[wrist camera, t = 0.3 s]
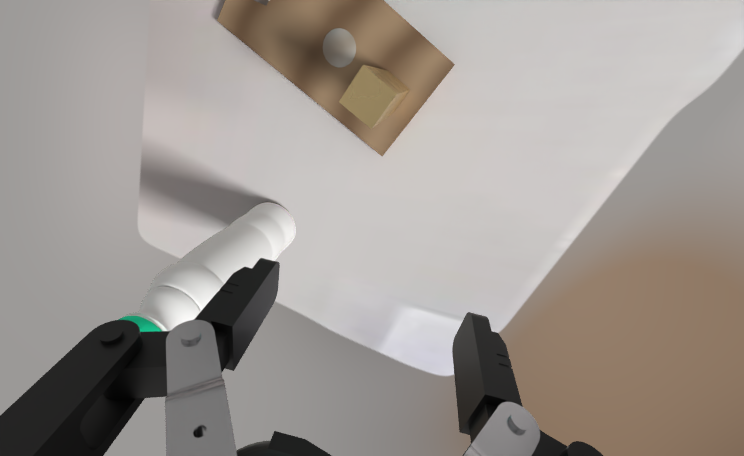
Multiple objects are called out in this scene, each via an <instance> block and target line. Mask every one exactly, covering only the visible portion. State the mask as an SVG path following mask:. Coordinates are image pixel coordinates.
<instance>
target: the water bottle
mask: <svg viewBox="0 0 744 456" xmlns="http://www.w3.org/2000/svg"><path fill="white" fill-rule="evenodd" d="M295 233H296V226H295V222H294V220H293V218H292V216H291V214H290V213H289V212H288V211H287V210H286V209H285V208H283V207H282V206H280V205H278V204H275V203H269V202H266V203H261V204H258V205H256V206H255V207H253V208H252V209H251V210H249V211H248V212H247V213H246V214H245V215H243V216H241V217H239V218H238V219H236V220H235V221H234V222H232V223H231V224H230V225H229V226H228V227H227V228H225V229H223V230H222V231H220V232H218V233H216V234H215V235H213V236H212V237H210V238H209V239H207V240H206V241H204V242H203V243H201V244H200V245H199V246H197V247H196V248H194V249H193V250H192V251H190V252H189V253H188V254H187V255H185V256H184V257H183V258H182V259H180V260H179V261H178V262H177V263H176V264H173V265H170V266H169V267H167V268H165V269H163V270H162V271H161V272H160V273H159V274H158V275H157V276H156V277H155V279H154V280H153V282H152V283H151V286H150V288H149V290H148V292H147V294H146V296H145V297H144V299H143V300H142V303H141V307H140V310H139V311H138V312H137V313H130V314H128V315H126V316H125V317H123V318H121V319H119V320H129V321H132V322H134V323H136V324H137V325H138V326H139V329H140V332H154V331H171V330H172V329H173V328H174V327H176V326H177V325H179V324H181V323H183V322H186V321H190V320H194V319H195V318H196V317H197V315H198V314H199V313H200V312H201V311H202V310H203V308H204V307H205V306H206V305H207V304H208V302H209V301H210V300H211V299H212V298H213V297H214V295H215V294H216V293H217V292H218V291H219V290H220V288H221V287H222V286H223V285H224V284H225V283H226V281H227V280H228V279H229V278H230V276H231V275H232V274H233V273H234V272H236V271H238V270H240V269H241V268H243V267H248V268H253V267H254V265H255V264H256V263H257V261H258V260H259V259H260V258H264V259H268V260H272V261H275V260H276V259H277V257H278V256H279V255H280V253H281V252H282V251H283V250H284V249H285V248H287V247H288V246H289V244H290V243H291V242H292V241H293V239H294V237H295Z"/></svg>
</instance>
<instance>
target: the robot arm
mask: <svg viewBox="0 0 744 456" xmlns="http://www.w3.org/2000/svg"><path fill="white" fill-rule="evenodd" d="M279 266H280V265H279V262H275V261H272V260H268V259H264V258H260V259H259V260H258V261H257V263H256V264H255V265H254V267H253V268H248V267H243V268H241V269H240V270H238V271H236V272H234V273H233V274H232V275H231V276H230V278H229V279H228V280H227V281H226V283H225V284H224V285H223V286H222V287H221V288H220V290H219V291H218V292H217V293H216V294H215V295H214V297H213V298H212V299H211V300H210V301H209V302H208V304H207V305H206V306H205V307H204V308H203V310H202V311H201V312H200V313H199V314H198V315H197V317H196V318H195V319H194V320H190V321H186V322H183V323H181V324H179V325H177V326H176V327H174V328H173V329H172V330H171V331H154V332H140V329H139V326H138V325H137V324H136V323H134V322H132V321H129V320H115V321H111V322H108V323H105V324H103V325H100V326H98V327H97V328H95V329H94V330H92V331H91V332H90V333H89V334H88V335H87V336H86V337H85V338H83V339H82V340H81V341H80V342H79V343H78V344H77V345H76V346H75V347H74V348H73V349H72V350H70V351H69V352H68V353H67V354H66V355H65V356H64V357H63V358H62V359H61V360H60V361H59V362H58V363H57V364H55V366H53V367H52V368H51V369H50V370H49V371H48V372H47V373H46V374H45V375H44V376H43V377H41V378H40V380H38V381H37V382H36V383H35V384H34V385H33V386H32V387H31V388H30V389H29V390H28V391H27V392H25V393H24V394H23V395H22V396H21V397H20V398H19V399H18V400H17V401H16V402H15V403H13V404H12V405H11V406H10V407H9V408H8V409H7V410H6V411H5V412H4V413H3V414H2V415H1V416H0V456H103V455H104V454H105V452H106V451H107V450H108V448H109V447H110V446H111V444H112V443H113V441H114V440H115V439H116V437H117V436H118V435H119V433H120V432H121V430H122V429H123V428H124V426H125V425H126V423H127V422H128V421H129V419H130V418H131V417H132V415H133V414H134V412H135V411H136V410H137V408H138V407H139V406H140V404H141V403H142V401H143V400H144V399H145V398H150V397H164V396H167V397H166V400H165V413H166V456H331V455H330V454H328V453H326V452H325V451H323V450H322V449H320V448H318V447H317V446H315V445H314V444H312V443H310V442H309V441H307V440H305V439H302V438H298V437H295V436H291V435H287V434H283V433H280V432H276V431H274V434H273V436H272V439H271V441H263V442H257V443H254V444H250V445H247V446H245V447H243V448H241V449H238V450H237V451H236V446H235V440H234V434H233V429H232V423H231V417H230V411H229V406H228V400H227V394H226V388H225V383H224V380H223V378H222V371H223V370H224V368H226V369H229V370H233V371H234V369H235V368H236V366H237V364H238V363H239V361H240V359H241V358H242V356H243V354H244V353H245V351H246V349H247V348H248V346H249V344H250V342H251V341H252V339H253V337H254V336H255V334H256V332H257V331H258V329H259V327H260V325H261V324H262V322H263V320H264V318H265V317H266V315H267V314H268V312H269V310H270V308H271V307H272V305H273V303H274V301H275V299H276V296H277V291H278V280H279ZM453 363H454V374H455V385H456V396H457V407H458V418H459V430H460V432H461V433H465V434H468V435H470V437H471V444H470V446H469V447H468V449H467V450H466V451H465V453H464V454H463V456H603V455H602V454H601V453H600V452H599V451H597V450H596V449H595V448H593V447H592V446H590V445H588V444H586V443H584V442H579V441H576V442H573V443H571V444H570V445H569V446H568V447H567V446H566V445H564V444H562V443H560V442H559V441H557V440H555V439H554V438H552V437H550V436H548V435H547V434H545V433H544V432H542V431H541V430H540V429H539V427H538V424H537V423H536V421H535V419H534V418H533V416H532V415H531V414H530V413H529V412H528V411H527V410H526V409H525V408H523V406H522V403H521V399H520V395H519V392H518V388H517V385H516V381H515V377H514V374H513V370H512V369H511V367H512V366H511V362H510V359H509V355H508V351H507V348H506V345H505V343H504V341H503V340H502V338H501V337H500V335H499V334H498V333H496V332H492V331H491V328H490V323H489V320H488V318H487V317H485V316H481V315H478V314H474V313H470V312H469V313H467V314H466V316H465V318H464V320H463V322H462V324H461V326H460V328H459V330H458V332H457V334H456V336H455V338H454V342H453Z"/></svg>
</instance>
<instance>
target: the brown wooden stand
mask: <svg viewBox="0 0 744 456" xmlns="http://www.w3.org/2000/svg"><path fill="white" fill-rule="evenodd" d="M217 21H218V22H219V23H221V24H222V25H223V26H224V27H225V28H227V29H228V30H229V31H230V32H231V33H233V34H234V35H235V36H236V37H238V38H239V39H240V40H241V41H242V42H244V43H245V44H246V45H247V46H249V47H250V48H251V49H252V50H253V51H255V52H256V53H257V54H258V55H259V56H261V57H262V58H263V59H264V60H266V61H267V62H268V63H269V64H270V65H272V66H273V67H274V68H275V69H277V70H278V71H279V72H280V73H281V74H283V75H284V76H285V77H286V78H287V79H289V80H290V81H291V82H292V83H294V84H295V85H296V86H297V87H298V88H300V89H301V90H302V91H303V92H304V93H306V94H307V95H308V96H309V97H311V98H312V99H313V100H314V101H315V102H317V103H318V104H319V105H320V106H322V107H323V108H324V109H325V110H326V111H328V112H329V113H330V114H331V115H332V116H334V117H335V118H336V119H337V120H339V121H340V122H341V123H342V124H343V125H345V126H346V127H347V128H348V129H349V130H351V131H352V132H353V133H354V134H356V135H357V136H358V137H359V138H360V139H362V140H363V141H364V142H365V143H367V144H368V145H369V146H370V147H371V148H373V149H374V150H375V151H376V152H377V153H379V154H380V155H381V156H383V155H384V153H385V152H386V151H387V150H388V148H389V147H390V146H391V145H392V143H393V142H394V141H395V140H396V138H397V137H398V136H399V134H400V133H401V132H402V131H403V129H404V128H405V127H406V126H407V124H408V123H409V122H410V121H411V119H412V118H413V117H414V115H415V114H416V113H417V112H418V110H419V109H420V108H421V107H422V105H423V104H424V103H425V102H426V100H427V99H428V98H429V97H430V95H431V94H432V93H433V91H434V90H435V89H436V88H437V86H438V85H439V84H440V83H441V81H442V80H443V79H444V78H445V76H446V75H447V74H448V72H449V71H450V70H451V69H452V67H453V66H454V65H455V64H454V63H452V62H451V61H450V60H449V59H448V58H447V57H446V56H445V55H444V54H442V53H441V52H440V51H439V50H438V49H437V48H436V47H435V46H434V45H432V44H431V43H430V42H429V41H428V40H427V39H426V38H425V37H424V36H422V35H421V34H420V33H419V32H418V31H417V30H416V29H415V28H414V27H412V26H411V25H410V24H409V23H408V22H407V21H406V20H405V19H404V18H402V17H401V16H400V15H399V14H398V13H397V12H396V11H395V10H394V9H392V8H391V7H390V6H389V5H388V4H387V3H386V2H385V1H384V0H225V2H224V5H223V7H222V10H221V12H220V15H219V17H218V20H217ZM363 65H367V66H371V67H375V68H379V69H383V70H387V71H389V72H390V73H392V74H393V75H394V76H395V77H396V78H397V79H399V80H400V81H401V82H402V83H403V84H404V85H405V86H407V87H408V88H409V89H410V91H409V92H408V94H407V95H406V96H405V98H404V99H403V100H402V102H401V103H400V104H399V106H398V107H397V108H396V110H395V111H394V112H393V114H391V115H390V116H389V117H387V118H386V119H384V120H383V121H382V122H380V123H379V124H378V125H376V126H375V127H373V128H372V129H371V128H369V127H368V126H367V125H366V124H365V123H363V122H362V121H361V120H360V119H359V118H357V117H356V116H355V115H354V114H353V113H351V112H350V111H349V110H348V109H347V108H345V107H344V106H343V105H342V104H341V103H339V101H340V99H341V98H342V96H343V95H344V93H345V92H346V90H347V89H348V87H349V85H350V84H351V82H352V81H353V79H354V78H355V76H356V75H357V73H358V72H359V70H360V69H361V67H362V66H363Z"/></svg>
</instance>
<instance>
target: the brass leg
mask: <svg viewBox="0 0 744 456" xmlns="http://www.w3.org/2000/svg"><path fill="white" fill-rule="evenodd" d="M409 91H410V89H409V88H408V87H407V86H405V85H404V84H403V83H402V82H401V81H400V80H399V79H397V78H396V77H395V76H394V75H393V74H392V73H390V72H389V71H387V70H383V69H379V68H375V67H371V66H367V65H363V66H362V67H361V69H360V70H359V72H358V73H357V75H356V76H355V78H354V79H353V81H352V82H351V84H350V85H349V87H348V89H347V90H346V92H345V93H344V95H343V96H342V98H341V99H340V101H339V103H341V104H342V105H343V106H344V107H345V108H347V109H348V110H349V111H350V112H351V113H353V114H354V115H355V116H356V117H357V118H359V119H360V120H361V121H362V122H363V123H365V124H366V125H367V126H368V127H369V128H371V129H372V128H373V127H375V126H376V125H378V124H379V123H380V122H382V121H383V120H384V119H386V118H387V117H389V116H390V115H391V114H393V112H394V111H395V110H396V108H397V107H398V106H399V104H400V103H401V102H402V100H403V99H404V98H405V96H406V95H407V94H408V92H409Z"/></svg>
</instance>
